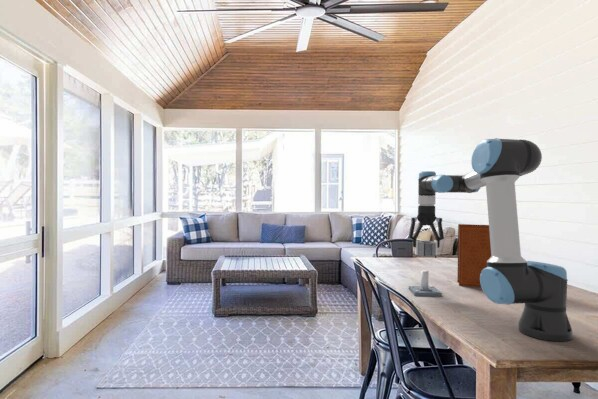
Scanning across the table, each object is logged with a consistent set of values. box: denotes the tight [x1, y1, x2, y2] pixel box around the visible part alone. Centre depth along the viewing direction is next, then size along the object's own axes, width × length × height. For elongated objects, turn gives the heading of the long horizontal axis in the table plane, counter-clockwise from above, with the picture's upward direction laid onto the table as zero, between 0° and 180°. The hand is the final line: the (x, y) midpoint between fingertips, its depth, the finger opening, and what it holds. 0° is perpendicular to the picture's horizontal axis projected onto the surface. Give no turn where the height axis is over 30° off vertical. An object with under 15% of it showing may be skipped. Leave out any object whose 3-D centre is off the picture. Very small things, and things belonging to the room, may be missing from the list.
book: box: [456, 223, 491, 288], centre depth 195 cm, size 23×8×30 cm, turn 73°
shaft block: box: [408, 269, 443, 297], centre depth 181 cm, size 12×12×10 cm
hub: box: [417, 240, 437, 258], centre depth 180 cm, size 8×8×6 cm
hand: (425, 254), depth 180 cm, fingers closed on hub, 8 cm apart
